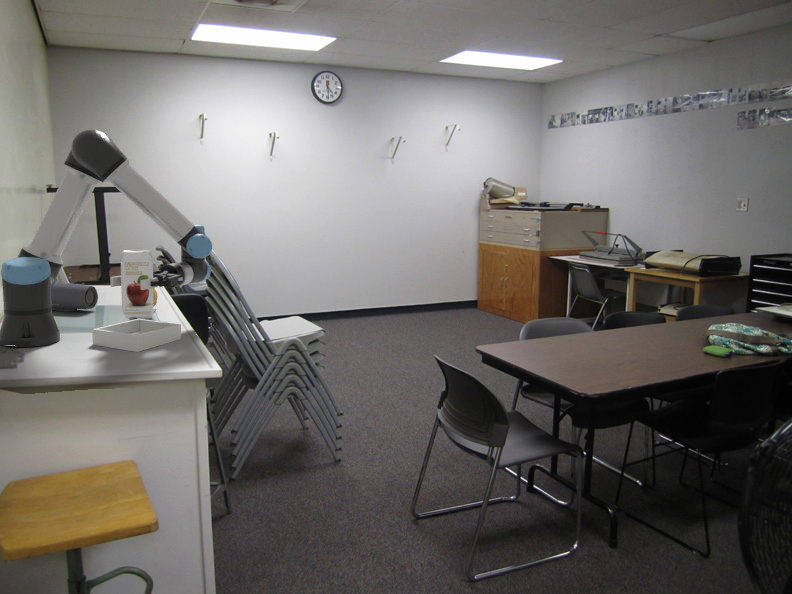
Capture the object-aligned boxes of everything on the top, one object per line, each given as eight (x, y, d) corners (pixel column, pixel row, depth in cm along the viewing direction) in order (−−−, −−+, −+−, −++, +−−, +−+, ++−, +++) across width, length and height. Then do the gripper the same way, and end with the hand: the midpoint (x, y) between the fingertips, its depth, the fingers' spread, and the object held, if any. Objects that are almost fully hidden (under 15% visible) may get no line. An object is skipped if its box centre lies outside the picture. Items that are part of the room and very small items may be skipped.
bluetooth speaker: (99, 309, 219) (98, 282, 218) (84, 314, 210) (83, 286, 209) (41, 305, 222) (39, 278, 220) (23, 310, 212) (21, 282, 211)
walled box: (137, 352, 166) (136, 336, 166) (92, 344, 172) (92, 329, 171) (181, 338, 183) (181, 324, 182) (139, 332, 188) (139, 318, 188)
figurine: (152, 314, 216) (151, 273, 213) (156, 319, 208) (155, 276, 205) (130, 315, 212) (129, 273, 210) (133, 320, 204) (132, 277, 202)
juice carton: (121, 313, 177) (120, 249, 174) (153, 312, 181) (152, 249, 178) (121, 318, 171) (120, 252, 168) (154, 317, 174) (153, 252, 171)
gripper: (205, 289, 189) (160, 300, 168) (145, 283, 195) (94, 293, 173) (205, 265, 188) (159, 273, 167) (145, 260, 194) (93, 267, 172)
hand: (126, 283), depth 170 cm, fingers closed on juice carton, 9 cm apart
